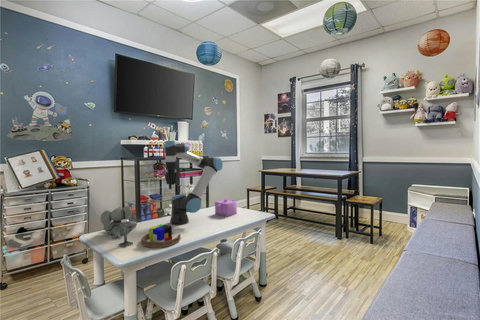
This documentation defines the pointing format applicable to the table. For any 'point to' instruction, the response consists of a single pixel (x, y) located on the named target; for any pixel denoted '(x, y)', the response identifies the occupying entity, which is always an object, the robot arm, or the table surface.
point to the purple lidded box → (226, 207)
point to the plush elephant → (116, 221)
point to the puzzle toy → (160, 233)
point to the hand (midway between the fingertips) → (171, 193)
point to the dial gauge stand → (126, 233)
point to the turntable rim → (158, 244)
